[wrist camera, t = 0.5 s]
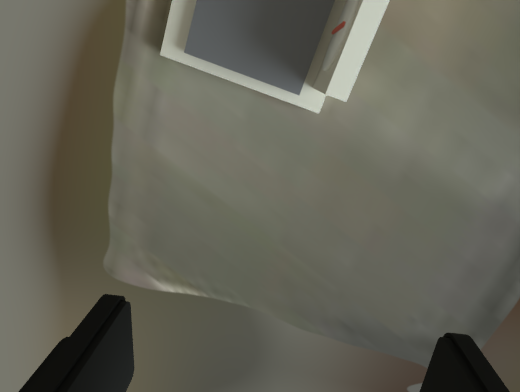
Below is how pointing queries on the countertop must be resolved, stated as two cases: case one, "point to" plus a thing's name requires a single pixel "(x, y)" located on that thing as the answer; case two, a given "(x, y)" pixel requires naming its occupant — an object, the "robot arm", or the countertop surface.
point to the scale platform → (260, 37)
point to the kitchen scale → (323, 64)
